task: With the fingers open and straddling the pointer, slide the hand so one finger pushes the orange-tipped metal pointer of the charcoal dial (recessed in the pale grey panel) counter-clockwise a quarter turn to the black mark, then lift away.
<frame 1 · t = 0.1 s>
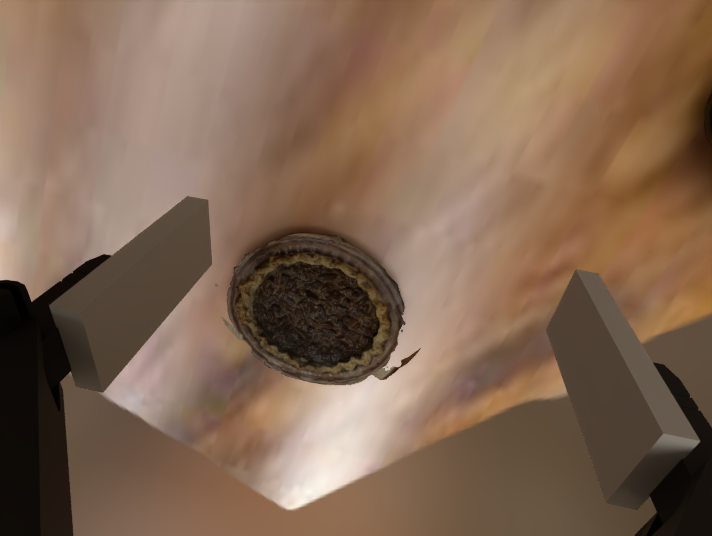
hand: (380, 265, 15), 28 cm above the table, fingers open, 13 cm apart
pie: (323, 296, 53), on the table
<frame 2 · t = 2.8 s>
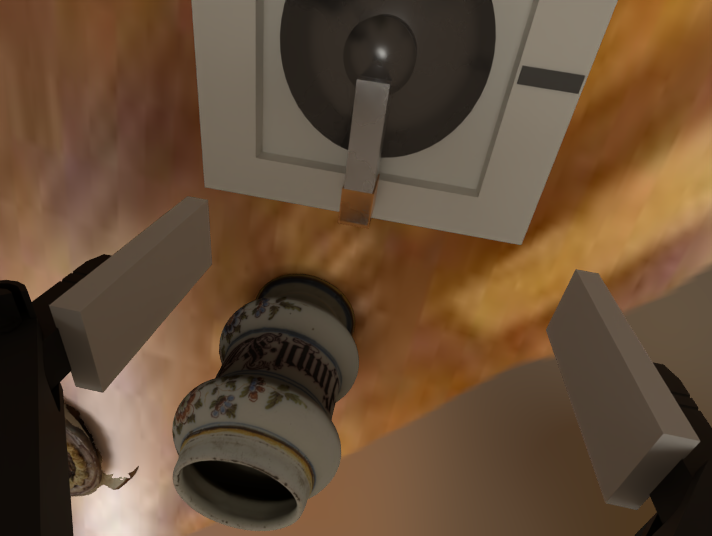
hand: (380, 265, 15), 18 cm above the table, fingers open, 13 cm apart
dial: (377, 84, 25), point 4 cm above the table, hinge at 0.0°
pie: (47, 422, 60), on the table
apothecary jar: (305, 314, 42), on the table
panel: (387, 48, 28), on the table
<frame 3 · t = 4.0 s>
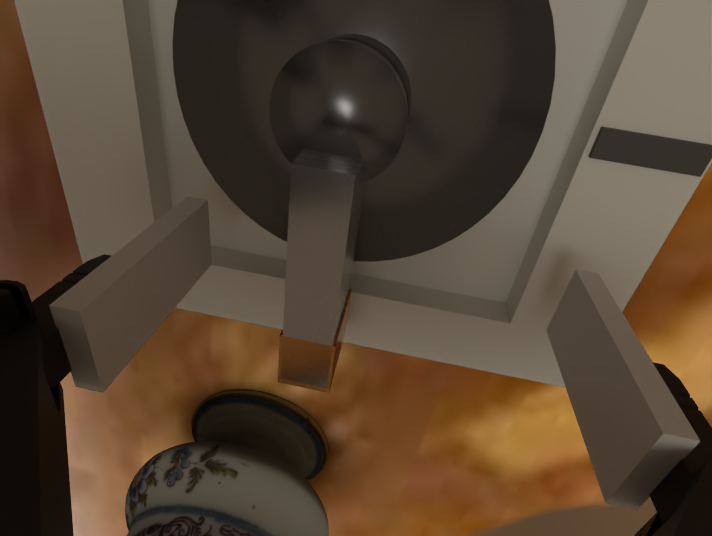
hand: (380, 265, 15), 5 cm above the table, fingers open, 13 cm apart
dial: (339, 159, 14), point 4 cm above the table, hinge at 0.0°
apothecary jar: (261, 435, 30), on the table
panel: (363, 87, 17), on the table
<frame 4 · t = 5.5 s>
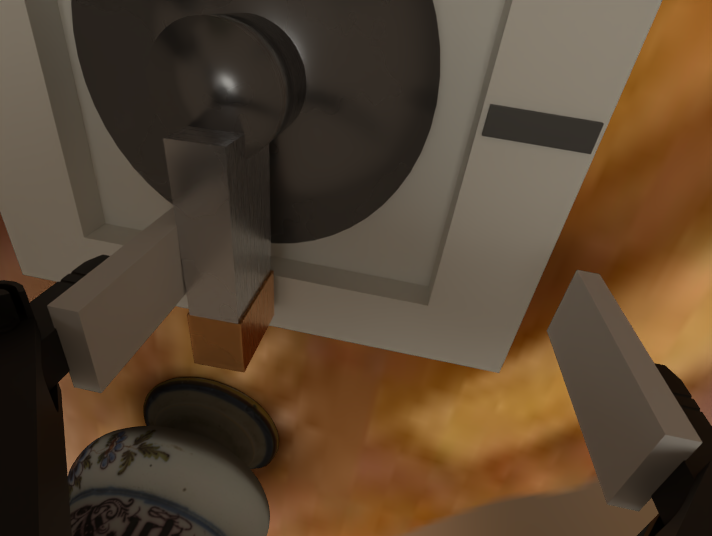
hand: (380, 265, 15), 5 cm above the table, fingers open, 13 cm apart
dial: (235, 137, 14), point 4 cm above the table, hinge at 2.0°, touching gripper
apothecary jar: (214, 423, 31), on the table
panel: (274, 69, 17), on the table
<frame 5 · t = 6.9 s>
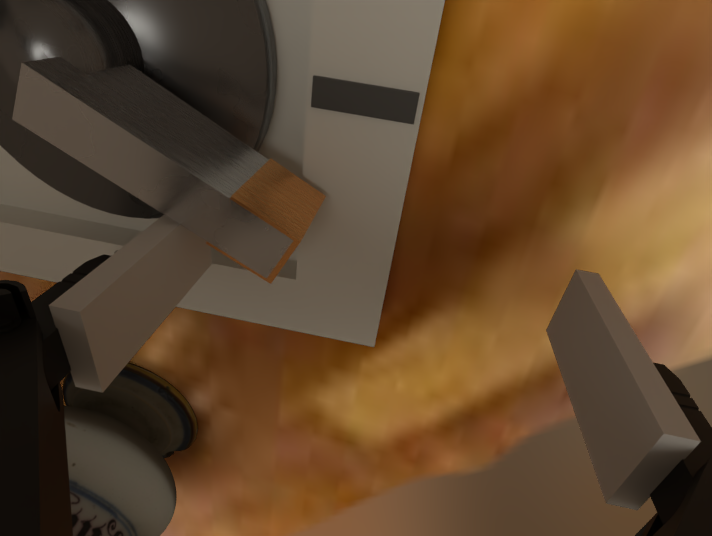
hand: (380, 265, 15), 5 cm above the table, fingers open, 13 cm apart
dial: (103, 88, 14), point 4 cm above the table, hinge at 63.4°
apothecary jar: (134, 406, 31), on the table
panel: (133, 46, 17), on the table
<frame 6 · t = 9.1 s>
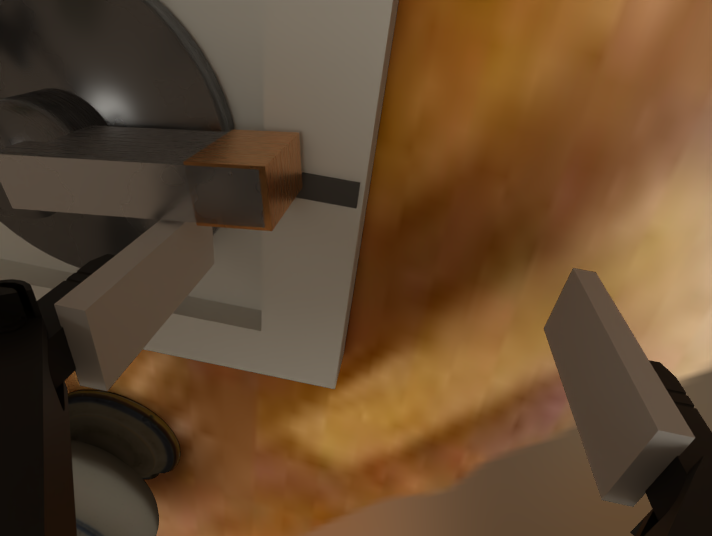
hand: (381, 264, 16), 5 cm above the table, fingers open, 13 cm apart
dial: (79, 155, 16), point 4 cm above the table, hinge at 97.0°, touching gripper
apothecary jar: (120, 432, 33), on the table
panel: (111, 125, 19), on the table
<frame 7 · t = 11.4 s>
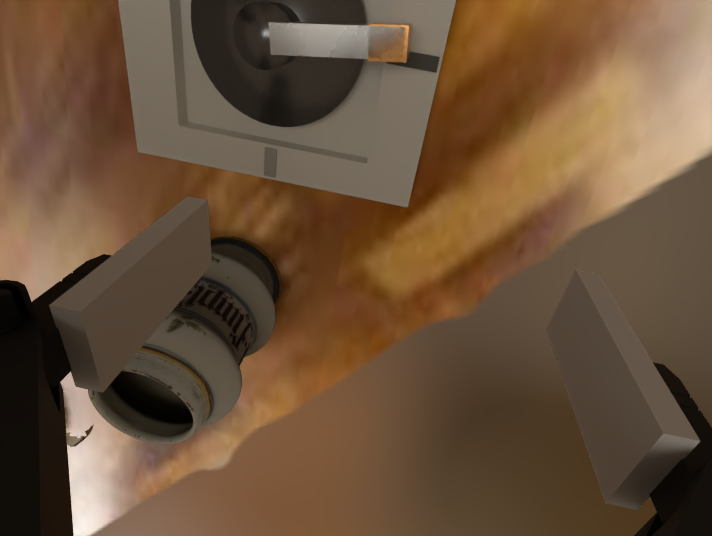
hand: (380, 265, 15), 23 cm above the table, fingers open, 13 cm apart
dial: (291, 36, 29), point 4 cm above the table, hinge at 97.1°
apothecary jar: (238, 276, 46), on the table
panel: (287, 33, 33), on the table
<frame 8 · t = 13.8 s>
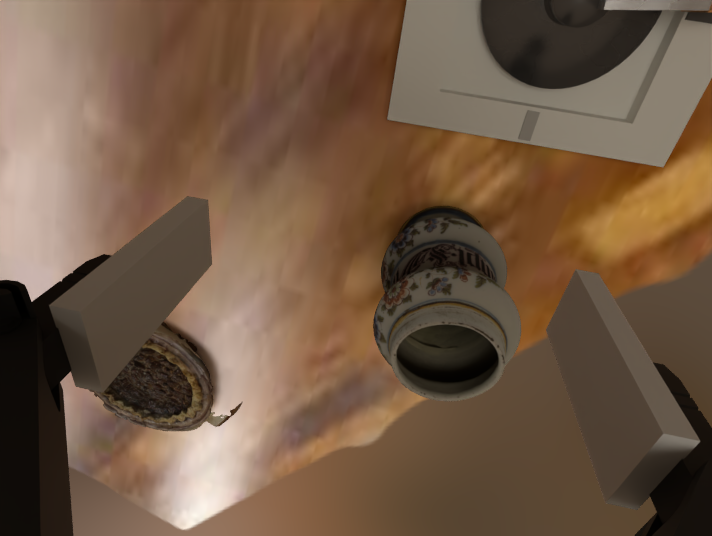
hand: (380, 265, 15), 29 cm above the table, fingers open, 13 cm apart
pie: (160, 361, 65), on the table
apothecary jar: (441, 246, 47), on the table
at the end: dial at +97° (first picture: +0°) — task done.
